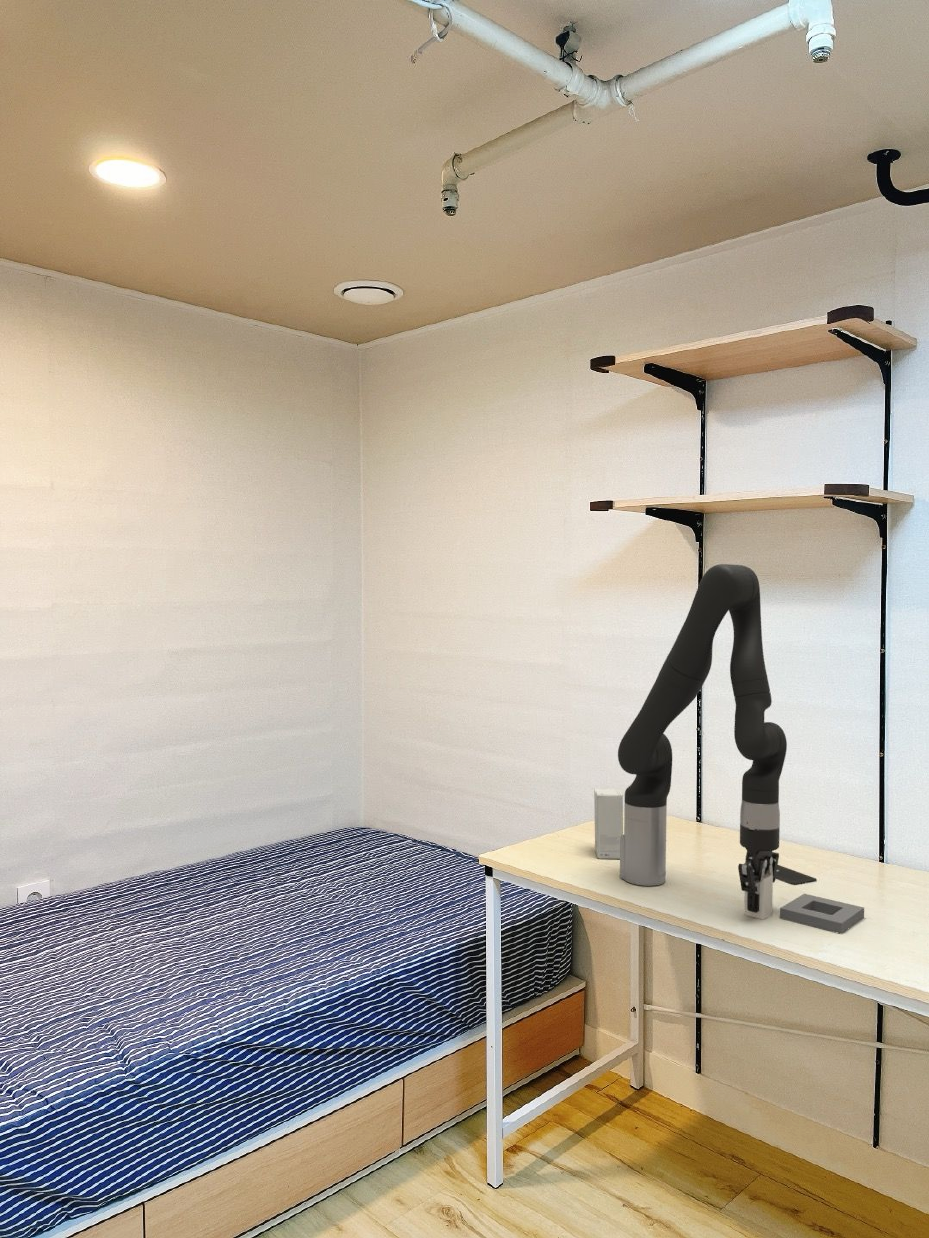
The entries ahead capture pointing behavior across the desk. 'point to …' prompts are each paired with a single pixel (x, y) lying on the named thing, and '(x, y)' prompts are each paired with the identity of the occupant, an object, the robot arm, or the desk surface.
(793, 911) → the socket plate
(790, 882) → the smartphone
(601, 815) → the skincare box
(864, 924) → the desk surface
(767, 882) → the charger
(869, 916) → the desk surface
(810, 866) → the desk surface
